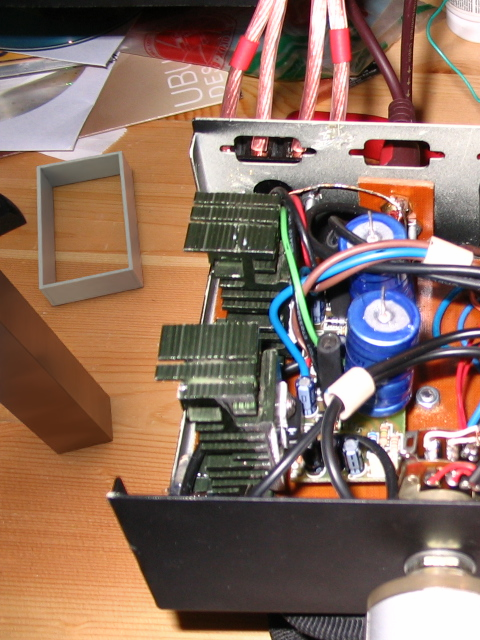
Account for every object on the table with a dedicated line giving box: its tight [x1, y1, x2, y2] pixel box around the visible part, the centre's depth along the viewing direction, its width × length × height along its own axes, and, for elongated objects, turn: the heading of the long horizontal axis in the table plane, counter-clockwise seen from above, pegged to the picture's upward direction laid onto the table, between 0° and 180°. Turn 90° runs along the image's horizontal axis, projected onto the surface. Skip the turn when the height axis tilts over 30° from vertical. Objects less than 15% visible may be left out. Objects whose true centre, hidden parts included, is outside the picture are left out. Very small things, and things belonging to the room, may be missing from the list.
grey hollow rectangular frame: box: [36, 150, 144, 307], centre depth 85 cm, size 9×18×3 cm, turn 17°
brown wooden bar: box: [0, 269, 114, 455], centre depth 64 cm, size 5×5×26 cm
